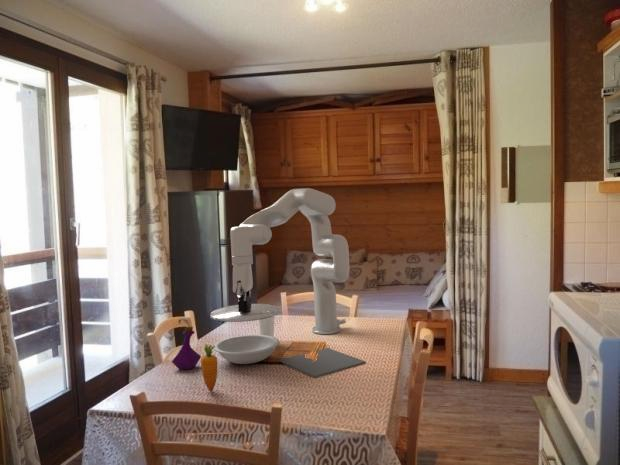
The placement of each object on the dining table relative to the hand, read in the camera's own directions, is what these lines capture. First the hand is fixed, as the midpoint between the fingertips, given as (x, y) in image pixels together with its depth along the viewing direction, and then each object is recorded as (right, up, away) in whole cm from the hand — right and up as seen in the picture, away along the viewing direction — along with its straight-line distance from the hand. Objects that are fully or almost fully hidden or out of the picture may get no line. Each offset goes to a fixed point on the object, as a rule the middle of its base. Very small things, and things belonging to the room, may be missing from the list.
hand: (245, 309), depth 186 cm
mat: (+28, -18, -4) cm, 33 cm away
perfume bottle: (-20, -20, -4) cm, 29 cm away
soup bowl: (+1, -19, +1) cm, 19 cm away
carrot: (-7, -21, -27) cm, 36 cm away
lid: (0, -1, 0) cm, 1 cm away
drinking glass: (+6, -18, +21) cm, 28 cm away
